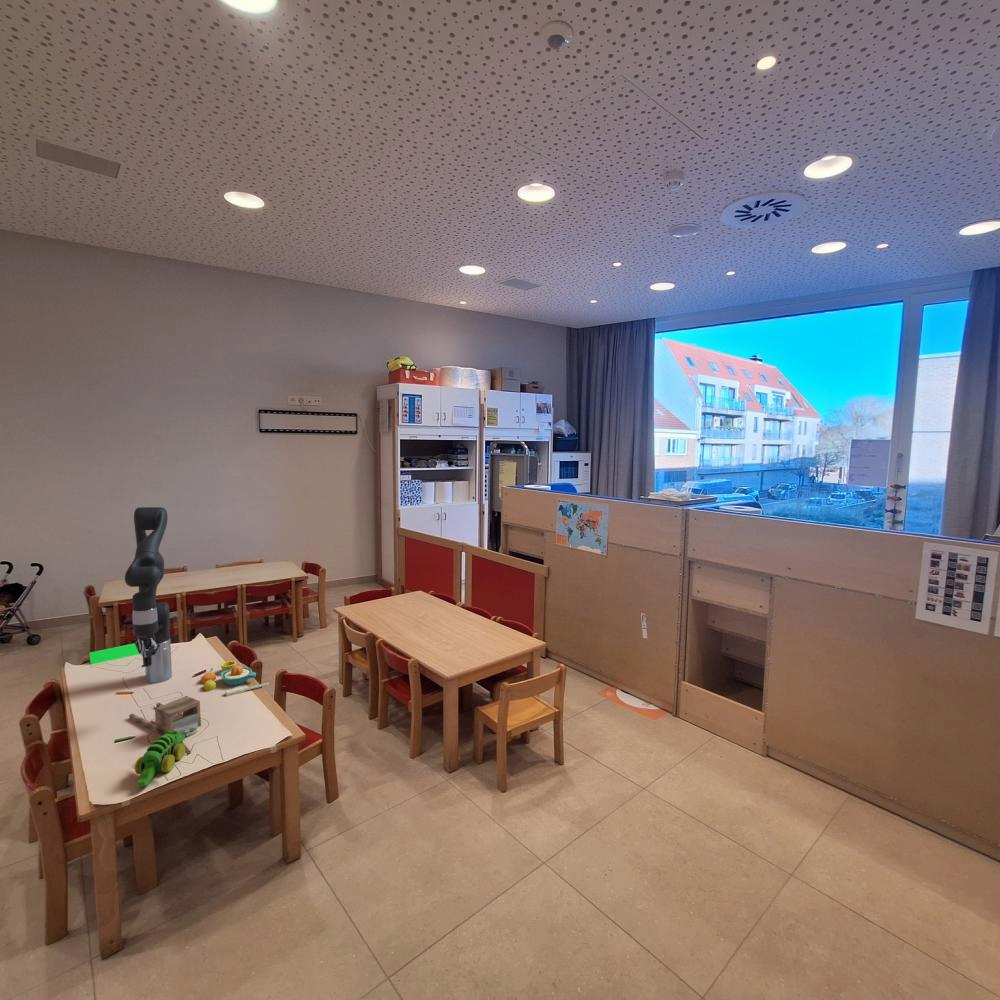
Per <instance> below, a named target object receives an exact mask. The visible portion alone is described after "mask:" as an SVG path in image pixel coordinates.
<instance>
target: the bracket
mask: <svg viewBox="0 0 1000 1000" xmlns="http://www.w3.org/2000/svg"><path fill="white" fill-rule="evenodd" d="M139 655H140V654H139V652H138V650H137V647H136V645H135V643H130V644H124V645H121V646H116V647H110V648H105V649H101V650H96V651H91V652H89V662H90V664H91V665H95V664H96V665H97V664H100V663H101V664H102V663H105V662H109V661H114V660H119V659H124V658H129V657H133V656H139Z"/></svg>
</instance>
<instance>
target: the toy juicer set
mask: <svg viewBox="0 0 1000 1000" xmlns="http://www.w3.org/2000/svg"><path fill="white" fill-rule="evenodd" d="M220 669H221V671H222V672H220V676H221V677H220V678H221V679H222V680H223V681H224V683H225V684H226V685H228V686H238V684H239V685H243V684H245V683H246V682H247V681H248V680H250V679H255V678H256V677H257V672H254V671H253V670H252V668H249V667H242V666H241V665H237V662H236V661H235V660H229V661H225V662H222V663H221V664H220ZM213 670H214V667H213V668H212V667H211V668H210V671H209V672H206V673H205V674H204V675H203V676H201V677H200V682H201V683H202V684H203V683H204V684H203V690H204V691H206V692H212V691H214V690H215V689H216V688H217V683H216V682H215V680H216V677H217V676H216V674H215V673H214V672H212V671H213ZM269 685H270V683H269V682H265V683H261V684H260V683H259V684H257V685H253V686H248V687H243V686H240V687H237V688H236V687H235V688H232V689H231V688H230V689H227V690H225V696H226V697H229V696H233V695H237V694H238V695H239V694H242V693H245V692H246V691H250V690H253V689H259V688H262V687H267V686H269Z"/></svg>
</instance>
